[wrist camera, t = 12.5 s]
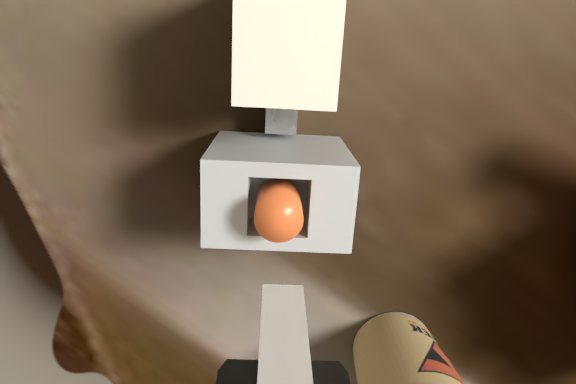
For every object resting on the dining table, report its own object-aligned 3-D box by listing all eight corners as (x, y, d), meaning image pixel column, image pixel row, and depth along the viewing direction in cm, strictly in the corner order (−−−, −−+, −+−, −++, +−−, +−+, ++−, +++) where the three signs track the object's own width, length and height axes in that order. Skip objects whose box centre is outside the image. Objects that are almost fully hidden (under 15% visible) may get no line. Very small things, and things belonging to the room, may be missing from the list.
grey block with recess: (219, 130, 37) (200, 159, 28) (339, 136, 37) (360, 166, 28) (219, 198, 39) (200, 247, 29) (333, 203, 39) (351, 253, 30)
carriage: (247, -21, 33) (233, -53, 23) (327, -16, 33) (350, -45, 23) (244, 89, 36) (231, 106, 25) (319, 92, 36) (336, 111, 25)
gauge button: (257, 176, 30) (254, 195, 26) (301, 178, 30) (305, 197, 26) (256, 217, 31) (253, 241, 27) (299, 219, 31) (302, 243, 27)
